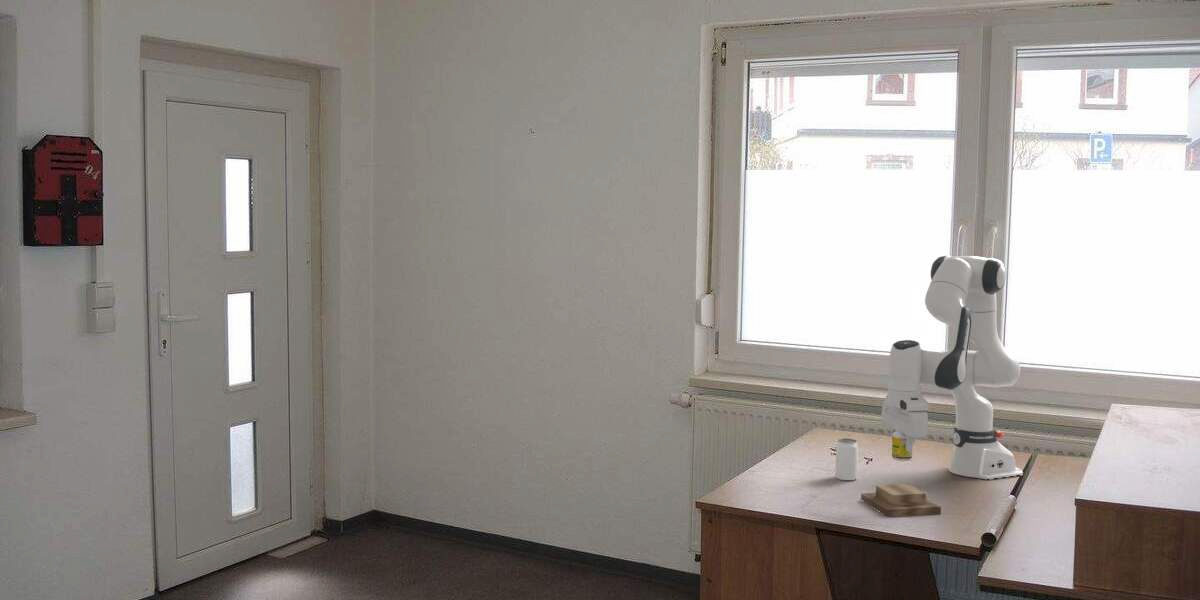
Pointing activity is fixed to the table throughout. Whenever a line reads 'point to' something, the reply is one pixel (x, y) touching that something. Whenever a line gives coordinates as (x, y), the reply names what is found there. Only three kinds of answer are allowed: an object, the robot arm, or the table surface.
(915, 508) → the plinth
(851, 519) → the table surface
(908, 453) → the supplement bottle
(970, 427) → the robot arm
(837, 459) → the can
